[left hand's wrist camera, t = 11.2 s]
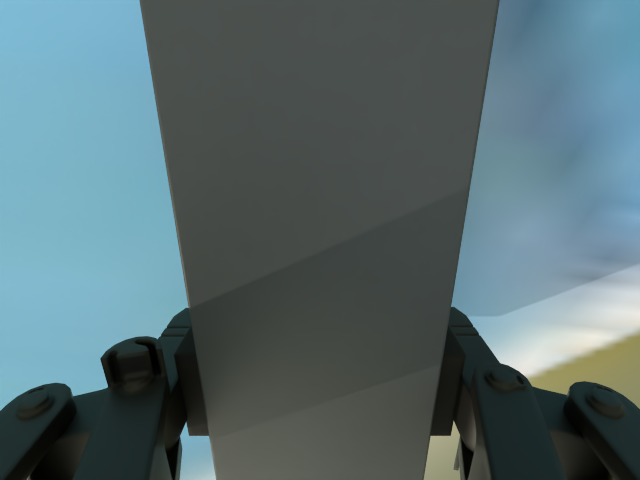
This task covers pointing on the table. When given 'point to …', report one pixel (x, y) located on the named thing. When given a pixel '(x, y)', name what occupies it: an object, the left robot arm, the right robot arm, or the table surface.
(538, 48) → the table surface
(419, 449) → the bar
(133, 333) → the table surface
